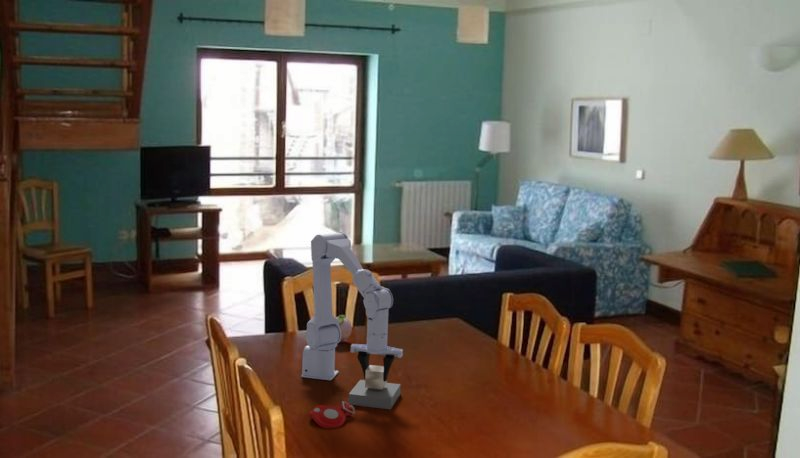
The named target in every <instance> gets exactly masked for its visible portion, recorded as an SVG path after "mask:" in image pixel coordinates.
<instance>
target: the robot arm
mask: <svg viewBox="0 0 800 458" xmlns="http://www.w3.org/2000/svg"><path fill="white" fill-rule="evenodd" d="M351 242H352V241H351V239H349V237H348V235H347V234H346V233H345V232H336V233H328V234H316V235H315V236H314V237H313V238H312V240H310V251H311V252H310V253H311V254H310V255H311V261H312V281H313V282H312V283H313V284H312V286H313V307H314V312H313V313H314V315H313V316H312V317H311V318H310V319H309V321H308V322H307V323H306V330H305V336H304V337H305V342H306V344H307V345H305V346H304V348H303V352H302V365H301V369H302V370H301V371H302V372H301V376H300V377H301V378H307V379H315V380H323V381H324V380H325V381H332V380H333V379H334V378H335V377H336V376H337V375H338V374H339V372H340V371H339V370H337V369H336V370H335V368H336V366H335V365H336V362H335V361H336V347H338V344H339V343H341V342H340V340H341V330H340V327H339V320H338V319H336V318H335V317H336V316H334V315H333V299H332V297H333V296H332V293H333V292H332V270H331V264H332V263H334V262H333V261H334V260H336V259H338V261H340V262H341V263H342V265H343V266H344V267H345V268H346V270H348V272H349V273H350V274H351V275H352V283H353V285H354V286H355V287H356V290H357V291H358V292H359V293H360V295H361V296H362V297H363V305H364V308H365V315H366V317H367V319H366V320H367V321H366V322H367V323H366V324H367V325H366V344H365V343H364V344H362V343H361V344H359V343H352V344H351V345H350V353H357V357H356V358H357V360H358V362H359V365H360V367H361V369H362V373H363V380H365V372H366V369H367V368H368V367H369V366H370V364H369V363H370V356H371V355H377V356H384V357H383V359H382V360H383V361H382V362H383V363H382V364H383V366H384V374H383V380H384V381H386V380H388V376H389V373H390V369H391V366H392V364H393V362H394V360H395V358H396V357H397V358H398V359H401V358H402V357H403V355H404V353H403V352H404V349H403V348H397V347H392V346H388V331H389V328H388V327H389V309H391V308H393V306H394V305H393V304H394V297H393V293H392V292H391V290H390V288H387V287H384V286H383V285H382V286H381V284H380V283H379V282H378V280H377V279H376V278H375V276H374V275H373V273H372V271H370V270H369V269H365V268H363V266H362V265H361V263H360V261H359V260H358V258H357V257H356V255H355V253H354V251H353V250H352V247H351V246H352V243H351Z"/></svg>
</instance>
